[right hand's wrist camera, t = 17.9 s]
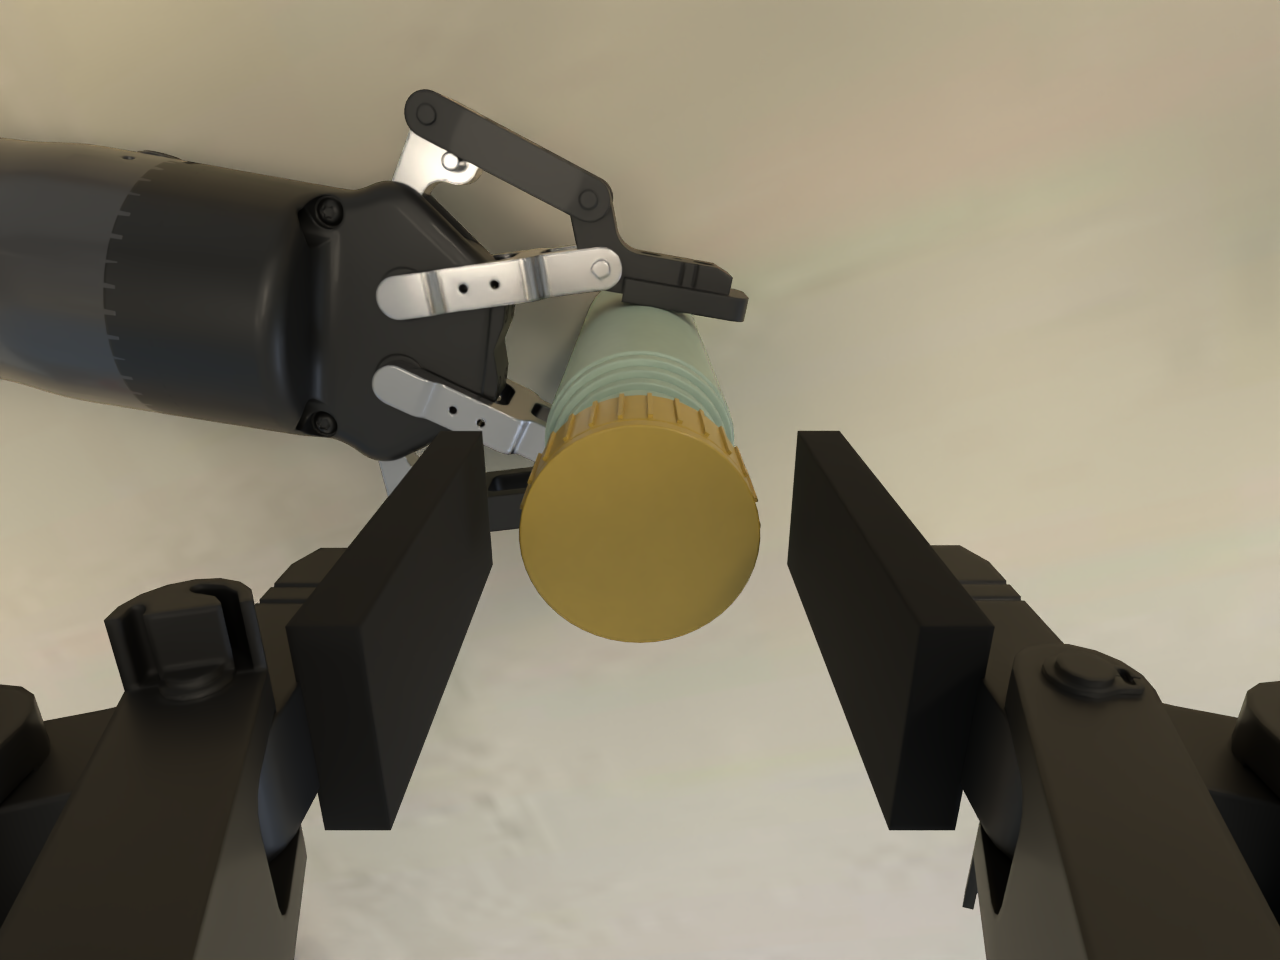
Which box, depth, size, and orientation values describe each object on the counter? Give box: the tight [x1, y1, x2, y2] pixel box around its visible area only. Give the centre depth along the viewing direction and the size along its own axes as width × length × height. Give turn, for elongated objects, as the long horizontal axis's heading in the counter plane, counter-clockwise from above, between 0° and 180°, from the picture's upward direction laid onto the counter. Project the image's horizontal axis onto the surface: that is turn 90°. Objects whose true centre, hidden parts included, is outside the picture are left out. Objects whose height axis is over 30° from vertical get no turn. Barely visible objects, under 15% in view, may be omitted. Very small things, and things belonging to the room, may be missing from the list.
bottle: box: [545, 291, 734, 447], centre depth 22 cm, size 4×4×18 cm
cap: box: [519, 393, 760, 643], centre depth 14 cm, size 4×4×2 cm
